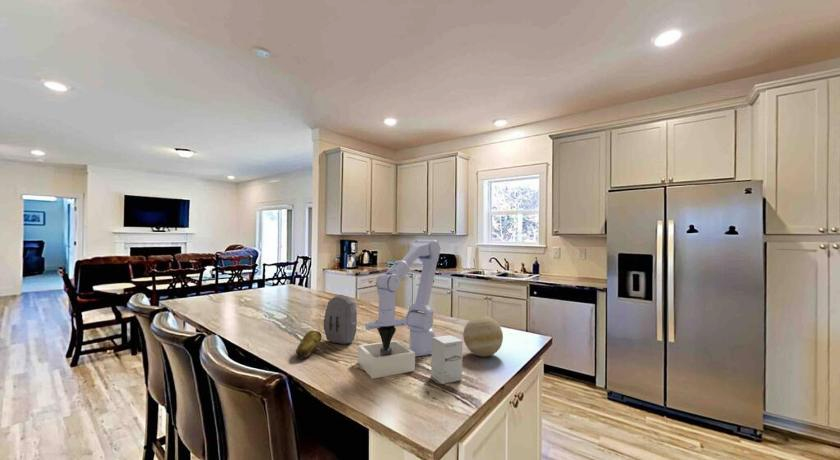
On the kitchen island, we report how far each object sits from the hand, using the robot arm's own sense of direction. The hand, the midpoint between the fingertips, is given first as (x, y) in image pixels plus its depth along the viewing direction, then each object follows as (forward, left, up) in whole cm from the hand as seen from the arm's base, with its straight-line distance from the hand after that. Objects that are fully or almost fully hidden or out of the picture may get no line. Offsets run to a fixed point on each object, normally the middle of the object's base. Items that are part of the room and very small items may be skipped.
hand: (385, 348), depth 117 cm
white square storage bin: (0, 0, -6) cm, 6 cm away
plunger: (0, 0, -5) cm, 5 cm away
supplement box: (-14, +17, -6) cm, 23 cm away
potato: (+22, -23, -6) cm, 32 cm away
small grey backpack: (+8, -32, -6) cm, 34 cm away
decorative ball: (-38, +5, -6) cm, 39 cm away
